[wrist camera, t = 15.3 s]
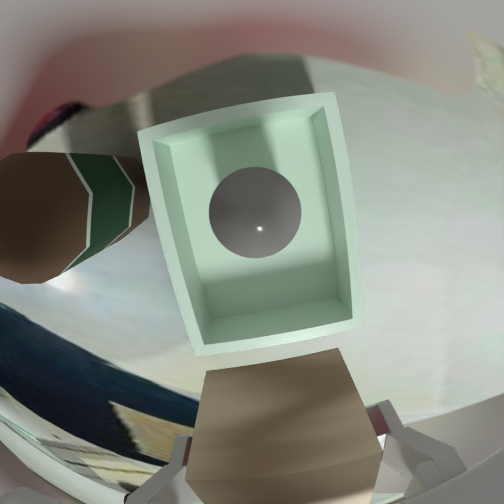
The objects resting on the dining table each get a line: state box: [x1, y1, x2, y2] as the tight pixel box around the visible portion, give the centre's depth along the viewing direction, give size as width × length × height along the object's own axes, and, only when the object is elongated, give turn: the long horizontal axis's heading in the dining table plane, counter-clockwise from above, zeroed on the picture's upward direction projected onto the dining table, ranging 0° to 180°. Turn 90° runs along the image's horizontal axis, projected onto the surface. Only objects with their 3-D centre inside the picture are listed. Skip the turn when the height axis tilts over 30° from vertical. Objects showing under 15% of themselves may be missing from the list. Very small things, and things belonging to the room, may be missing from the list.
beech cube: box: [184, 348, 383, 504], centre depth 8 cm, size 5×5×5 cm
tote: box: [137, 92, 365, 356], centre depth 22 cm, size 14×18×5 cm
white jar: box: [209, 167, 301, 258], centre depth 20 cm, size 5×5×8 cm
